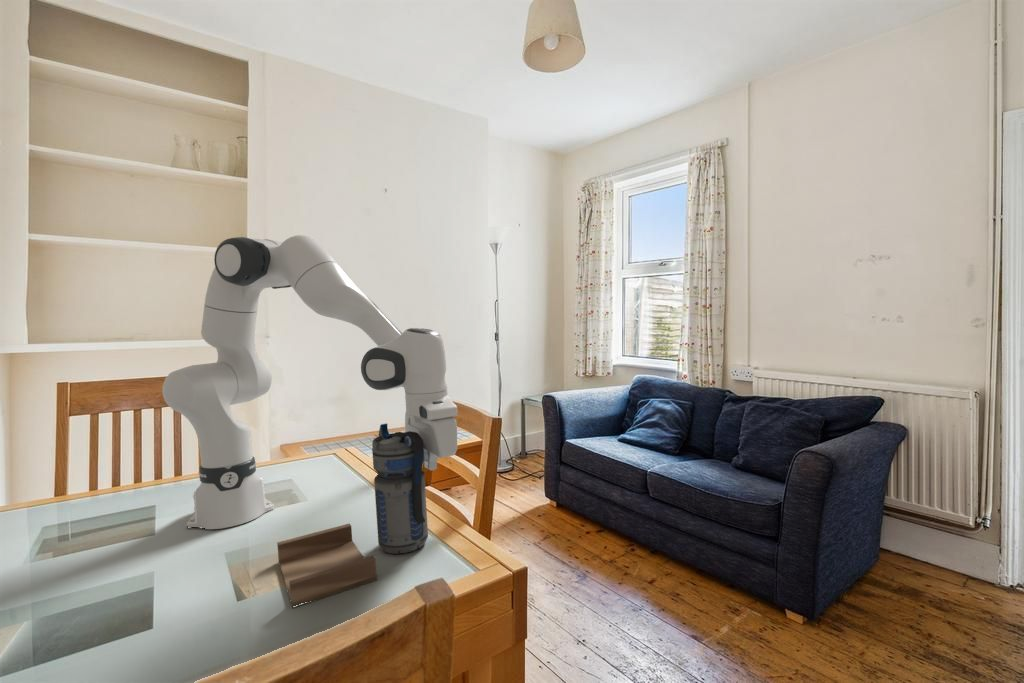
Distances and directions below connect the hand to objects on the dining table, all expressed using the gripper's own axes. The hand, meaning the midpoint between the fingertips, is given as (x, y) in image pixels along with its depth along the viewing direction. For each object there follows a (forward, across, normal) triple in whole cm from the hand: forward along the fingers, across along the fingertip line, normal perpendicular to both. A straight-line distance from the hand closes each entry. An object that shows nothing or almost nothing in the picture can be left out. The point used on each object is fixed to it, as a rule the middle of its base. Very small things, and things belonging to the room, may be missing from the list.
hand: (430, 468), depth 102 cm
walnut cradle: (+15, 0, -22) cm, 27 cm away
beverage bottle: (+15, 0, -6) cm, 16 cm away
